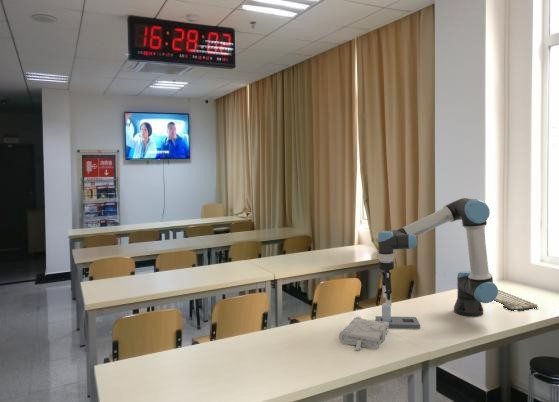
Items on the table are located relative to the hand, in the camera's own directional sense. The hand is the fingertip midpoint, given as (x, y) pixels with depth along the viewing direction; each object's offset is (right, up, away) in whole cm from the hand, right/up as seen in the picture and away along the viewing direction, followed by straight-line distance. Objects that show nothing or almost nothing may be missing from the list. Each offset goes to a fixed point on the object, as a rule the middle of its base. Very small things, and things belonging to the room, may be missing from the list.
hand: (387, 301), depth 233 cm
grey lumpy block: (-15, -15, -19) cm, 28 cm away
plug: (0, -12, +1) cm, 12 cm away
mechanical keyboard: (+80, -9, +37) cm, 88 cm away
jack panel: (+5, -12, 0) cm, 13 cm away
